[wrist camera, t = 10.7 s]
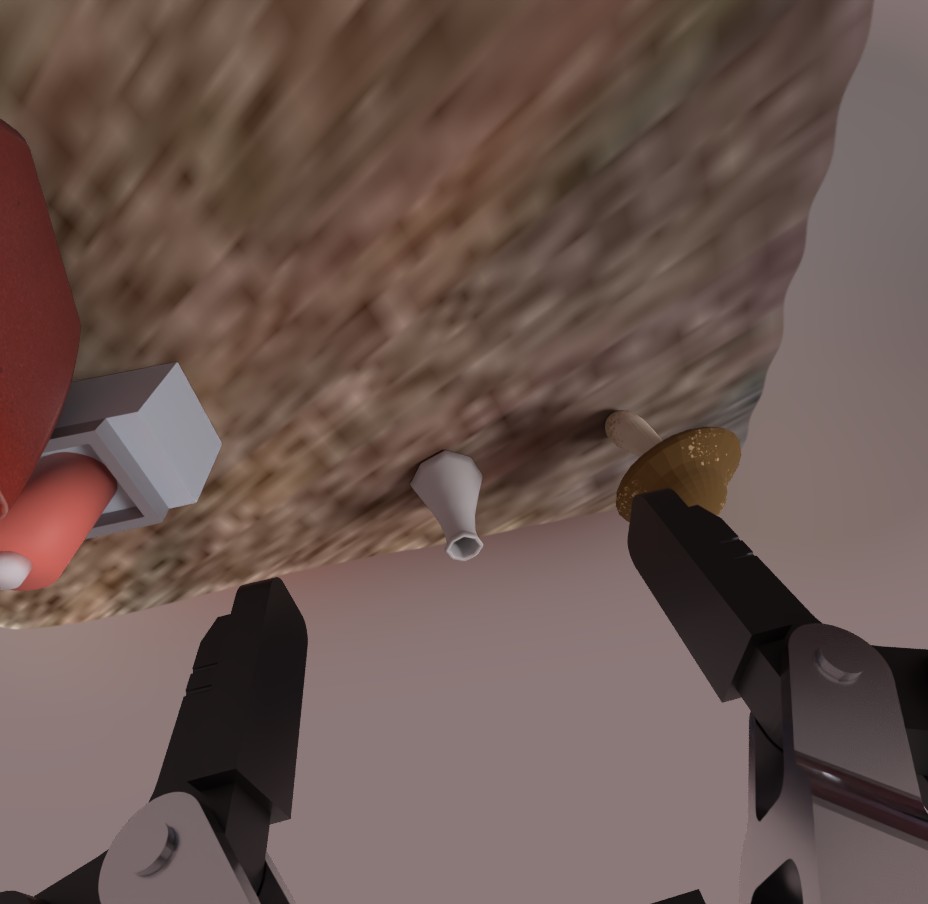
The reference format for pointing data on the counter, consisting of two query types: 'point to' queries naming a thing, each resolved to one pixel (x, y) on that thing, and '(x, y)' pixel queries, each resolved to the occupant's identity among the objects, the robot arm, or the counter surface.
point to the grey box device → (139, 441)
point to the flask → (452, 499)
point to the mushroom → (674, 462)
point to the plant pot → (29, 320)
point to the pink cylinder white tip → (52, 519)
